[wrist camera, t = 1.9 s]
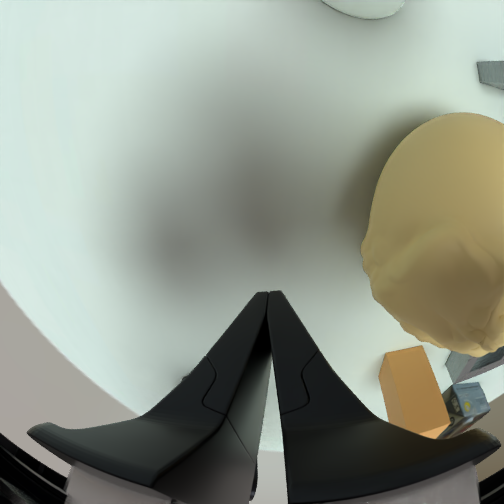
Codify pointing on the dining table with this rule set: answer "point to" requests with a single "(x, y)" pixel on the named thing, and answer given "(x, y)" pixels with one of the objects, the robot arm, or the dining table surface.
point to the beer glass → (366, 7)
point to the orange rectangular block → (413, 393)
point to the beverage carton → (463, 407)
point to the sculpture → (442, 234)
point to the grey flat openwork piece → (469, 366)
